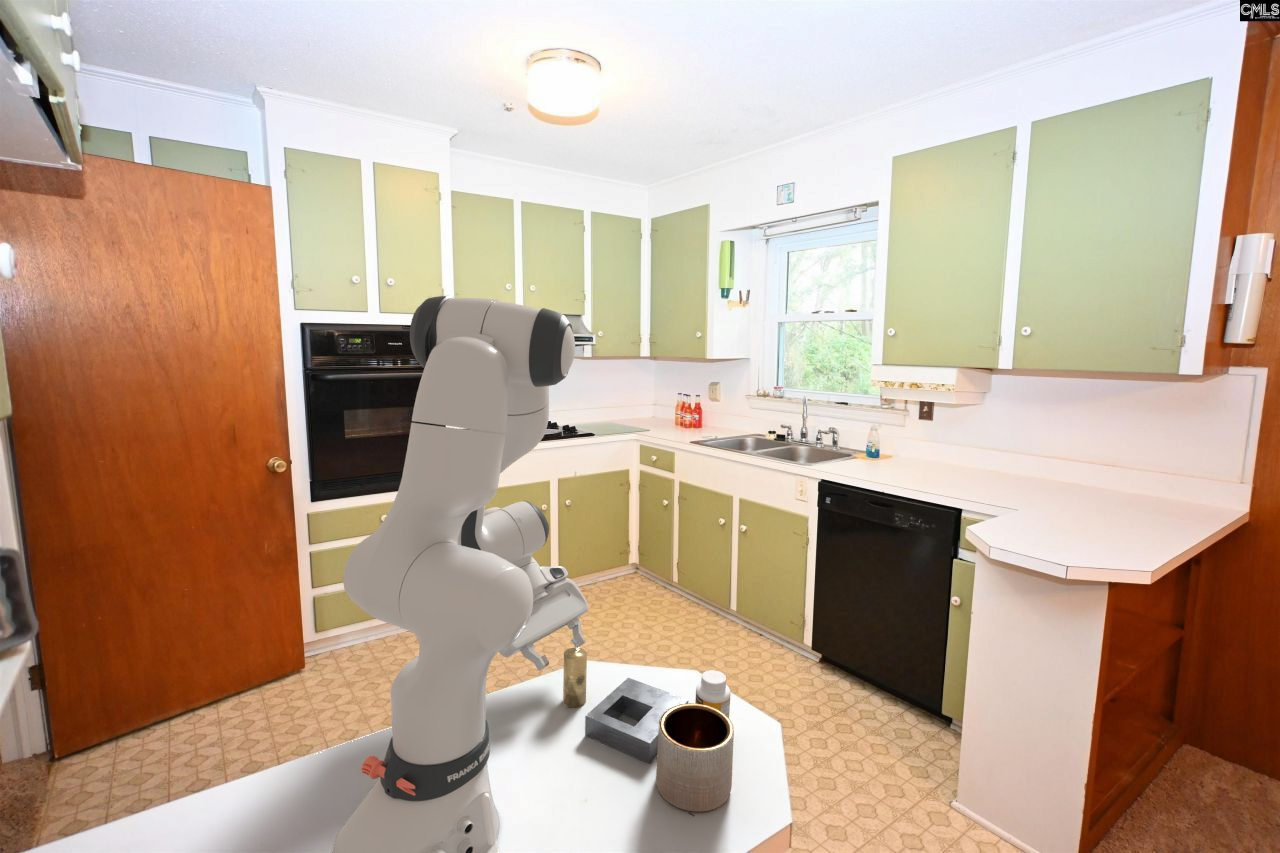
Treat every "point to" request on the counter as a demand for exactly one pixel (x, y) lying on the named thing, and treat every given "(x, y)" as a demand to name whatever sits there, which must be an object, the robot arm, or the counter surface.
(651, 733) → the jig plate
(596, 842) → the counter surface
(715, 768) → the planter
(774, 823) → the counter surface
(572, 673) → the gold round-topped cylinder
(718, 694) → the supplement bottle
